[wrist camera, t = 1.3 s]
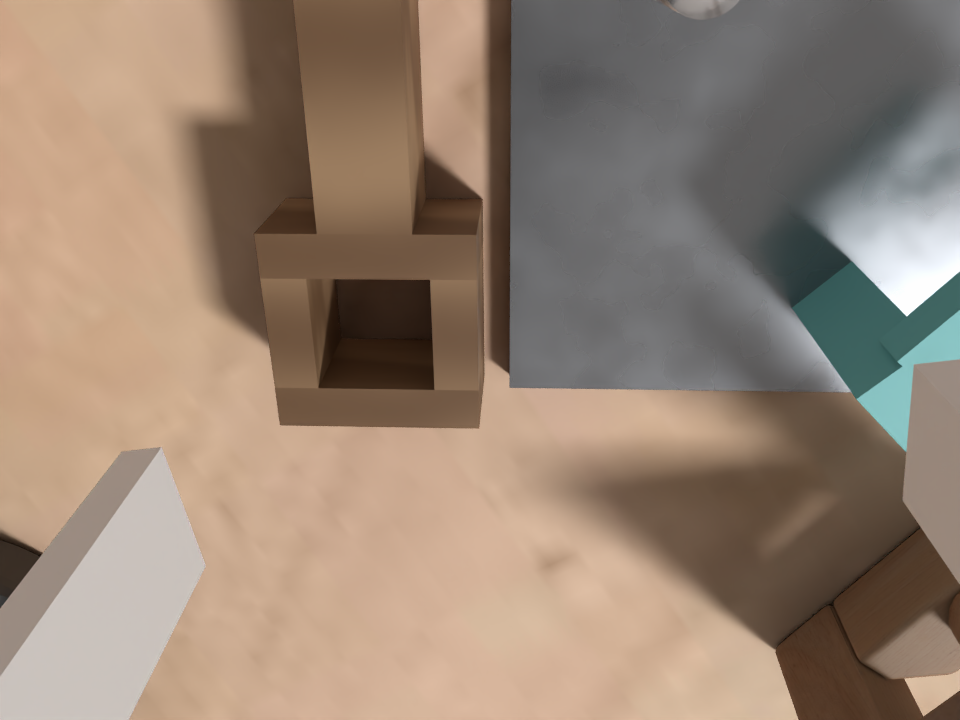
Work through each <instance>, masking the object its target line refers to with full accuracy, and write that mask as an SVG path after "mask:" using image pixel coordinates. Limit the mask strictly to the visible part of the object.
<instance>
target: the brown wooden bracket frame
mask: <svg viewBox="0 0 960 720" xmlns="http://www.w3.org/2000/svg"><path fill="white" fill-rule="evenodd" d="M776 655H777V658H778V661H779V664H780V667H781V670H782V673H783V676H784V679H785V681H786V684H787V687H788V690H789V693H790V696H791V699H792V702H793V705H794V707H795V710H796V713H797V716H798V719H799V720H960V691H959V692H957V693H956V694H955V695H953V696H952V697H950V698H949V699H948V700H946V701H945V702H943V703H942V704H941V705H939V706H938V707H936V708H935V709H934V710H932V711H931V712H929V713H928V714H927V715H925V716H924V717H923V715H922V713H921V711H920V709H919V707H918V705H917V703H916V701H915V699H914V697H913V695H912V693H911V691H910V689H909V687H908V686H907V684H906V682H905V680H904V678H914V677H926V676H937V675H948V674H952V673H954V672H956V671H958V670H959V669H960V584H959V583H958V581H957V580H956V578H955V577H954V575H953V574H952V572H951V571H950V570H949V568H948V567H947V565H946V564H945V562H944V561H943V559H942V558H941V556H940V555H939V553H938V552H937V550H936V549H935V547H934V546H933V545H932V543H931V542H930V540H929V539H928V537H927V536H926V534H925V533H924V531H923V530H922V528H920V529H919V530H917V531H916V532H915V533H914V534H913V535H911V536H910V537H909V538H908V539H907V540H905V541H904V542H903V543H902V544H901V545H899V546H898V547H897V548H896V549H895V550H893V551H892V552H891V553H890V554H889V555H887V556H886V557H885V558H884V559H883V560H881V561H880V562H879V563H878V564H877V565H875V566H874V567H873V568H872V569H871V570H869V571H868V572H867V573H866V574H865V575H863V576H862V577H861V578H860V579H859V580H857V581H856V582H855V583H854V584H853V585H851V586H850V587H849V588H848V589H846V590H845V591H844V592H843V593H842V594H840V595H839V596H838V597H837V598H836V599H835V600H834V607H833V606H826V607H824V608H822V609H821V610H820V611H819V612H818V613H816V614H815V615H814V616H813V617H812V618H810V619H809V620H808V621H807V622H806V623H804V624H803V625H802V626H801V627H800V628H798V629H797V630H796V631H795V632H794V633H792V634H791V635H790V636H789V637H788V638H786V639H785V640H784V641H783V642H782V643H780V644H779V645H778V647H777V648H776Z"/></svg>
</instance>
